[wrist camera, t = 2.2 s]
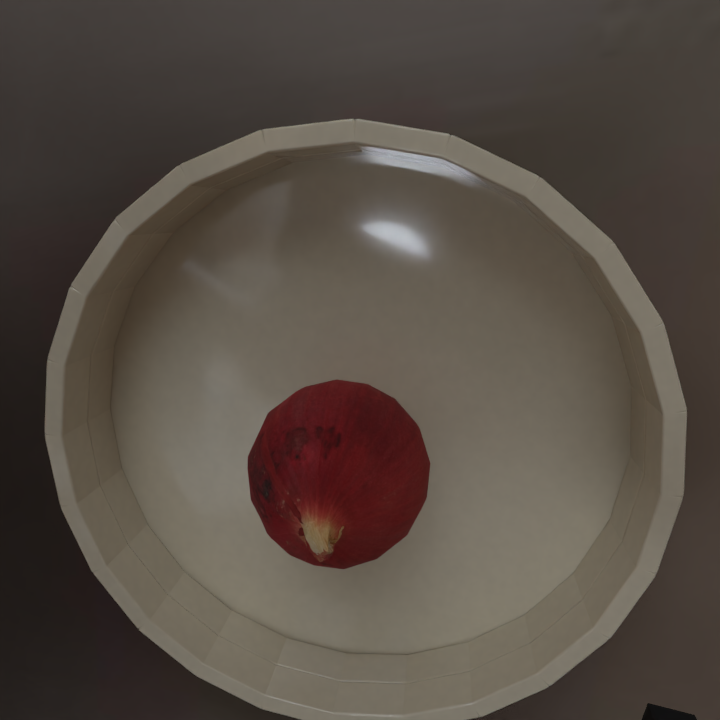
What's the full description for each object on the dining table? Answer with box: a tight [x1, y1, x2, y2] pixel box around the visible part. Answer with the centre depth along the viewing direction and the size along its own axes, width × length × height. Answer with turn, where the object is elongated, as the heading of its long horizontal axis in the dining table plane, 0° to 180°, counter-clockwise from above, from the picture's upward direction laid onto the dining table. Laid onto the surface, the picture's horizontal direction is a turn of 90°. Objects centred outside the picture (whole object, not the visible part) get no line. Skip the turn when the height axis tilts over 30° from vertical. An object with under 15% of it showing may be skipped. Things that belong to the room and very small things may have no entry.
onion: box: [248, 379, 430, 569], centre depth 19 cm, size 6×6×8 cm
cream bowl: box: [44, 118, 687, 720], centre depth 21 cm, size 21×21×4 cm
